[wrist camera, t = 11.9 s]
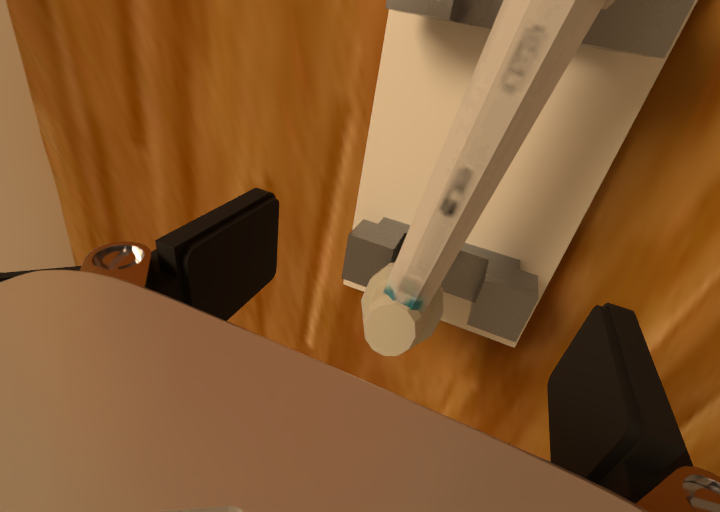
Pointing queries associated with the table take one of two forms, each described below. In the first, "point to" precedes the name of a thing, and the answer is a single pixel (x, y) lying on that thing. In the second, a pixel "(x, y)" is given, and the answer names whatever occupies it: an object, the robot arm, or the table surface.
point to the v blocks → (478, 265)
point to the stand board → (533, 160)
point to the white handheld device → (474, 161)
